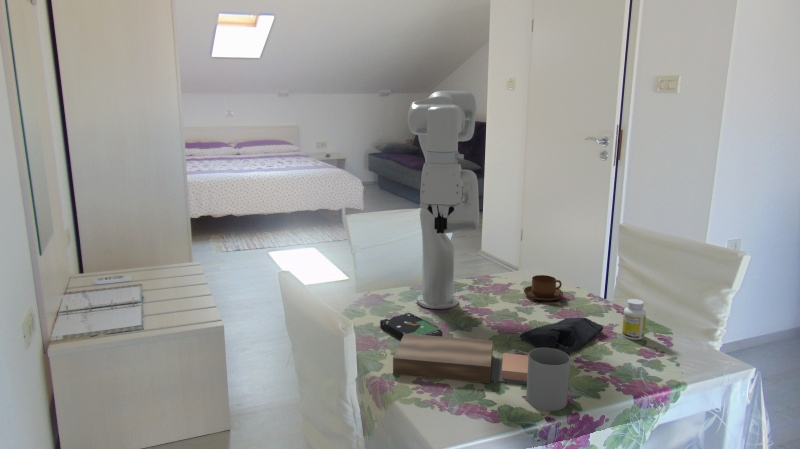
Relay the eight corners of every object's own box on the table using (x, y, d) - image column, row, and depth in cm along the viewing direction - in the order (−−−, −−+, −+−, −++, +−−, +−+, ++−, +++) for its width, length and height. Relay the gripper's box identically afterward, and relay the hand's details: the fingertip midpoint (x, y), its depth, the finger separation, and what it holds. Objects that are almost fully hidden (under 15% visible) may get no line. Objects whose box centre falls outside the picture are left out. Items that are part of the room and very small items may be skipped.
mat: (492, 359, 142) (492, 358, 141) (543, 363, 139) (543, 362, 139) (490, 381, 131) (490, 379, 131) (545, 386, 129) (546, 385, 129)
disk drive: (379, 330, 160) (412, 348, 149) (379, 320, 160) (412, 337, 148) (409, 321, 166) (443, 338, 155) (409, 312, 166) (443, 328, 154)
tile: (529, 355, 138) (528, 363, 139) (503, 353, 140) (503, 360, 140) (529, 373, 130) (528, 381, 130) (501, 370, 131) (501, 378, 132)
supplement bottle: (633, 331, 158) (637, 296, 156) (648, 339, 153) (651, 303, 151) (617, 333, 157) (620, 299, 154) (631, 341, 152) (634, 306, 149)
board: (404, 348, 148) (404, 333, 147) (492, 355, 143) (492, 340, 143) (392, 374, 134) (392, 357, 133) (489, 383, 130) (490, 366, 129)
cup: (560, 390, 127) (563, 347, 125) (572, 410, 119) (576, 365, 117) (521, 390, 127) (523, 348, 125) (531, 411, 119) (534, 365, 117)
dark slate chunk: (613, 337, 155) (614, 320, 154) (562, 360, 142) (563, 342, 141) (564, 319, 167) (565, 304, 166) (513, 339, 154) (514, 322, 153)
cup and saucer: (541, 288, 192) (542, 270, 191) (570, 299, 183) (572, 280, 181) (515, 295, 186) (516, 277, 184) (544, 306, 176) (545, 287, 175)
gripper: (474, 157, 143) (472, 230, 147) (414, 156, 146) (413, 227, 150) (471, 161, 136) (469, 237, 140) (408, 159, 139) (408, 234, 143)
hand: (440, 232), depth 145 cm, fingers closed
